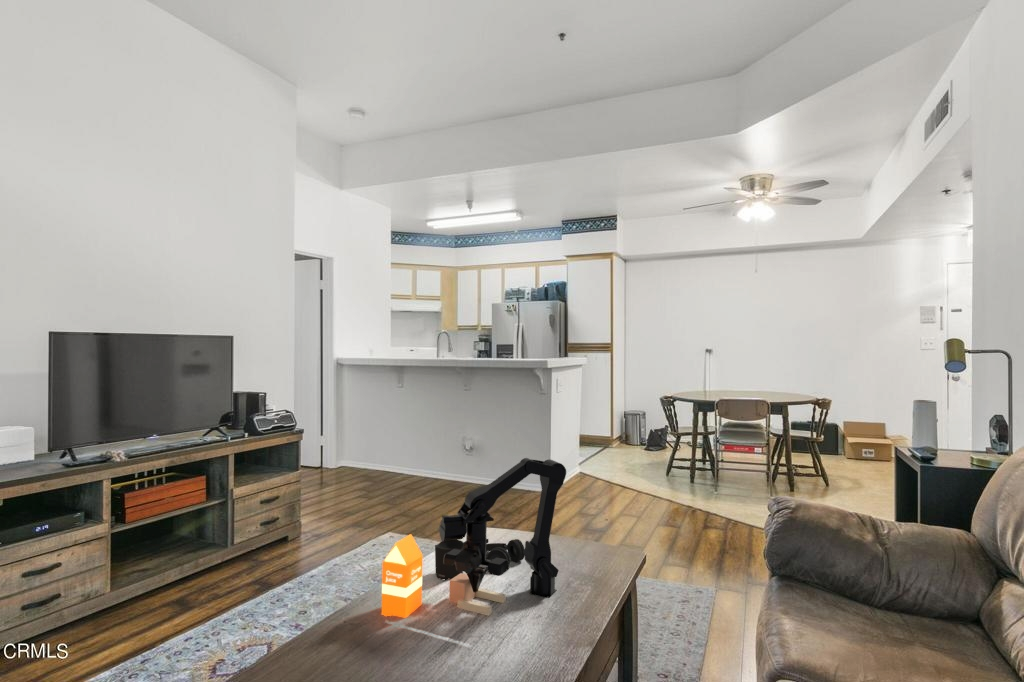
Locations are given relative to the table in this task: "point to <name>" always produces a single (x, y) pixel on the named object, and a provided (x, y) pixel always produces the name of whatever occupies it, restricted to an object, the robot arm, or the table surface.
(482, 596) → the beige railed tray
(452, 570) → the pen holder
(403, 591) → the orange juice
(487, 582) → the table surface
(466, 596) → the block
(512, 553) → the headphones
